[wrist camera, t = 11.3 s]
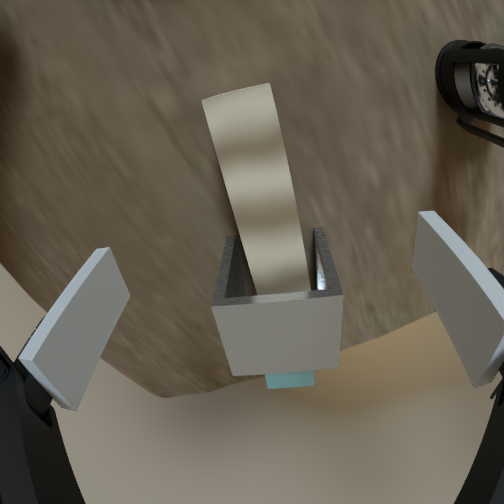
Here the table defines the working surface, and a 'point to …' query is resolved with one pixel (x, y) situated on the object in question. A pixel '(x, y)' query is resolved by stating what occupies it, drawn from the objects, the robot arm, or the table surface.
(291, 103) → the table surface
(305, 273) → the bar
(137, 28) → the table surface
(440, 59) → the french press
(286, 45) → the table surface
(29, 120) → the table surface
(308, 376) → the block
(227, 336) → the grey open box
